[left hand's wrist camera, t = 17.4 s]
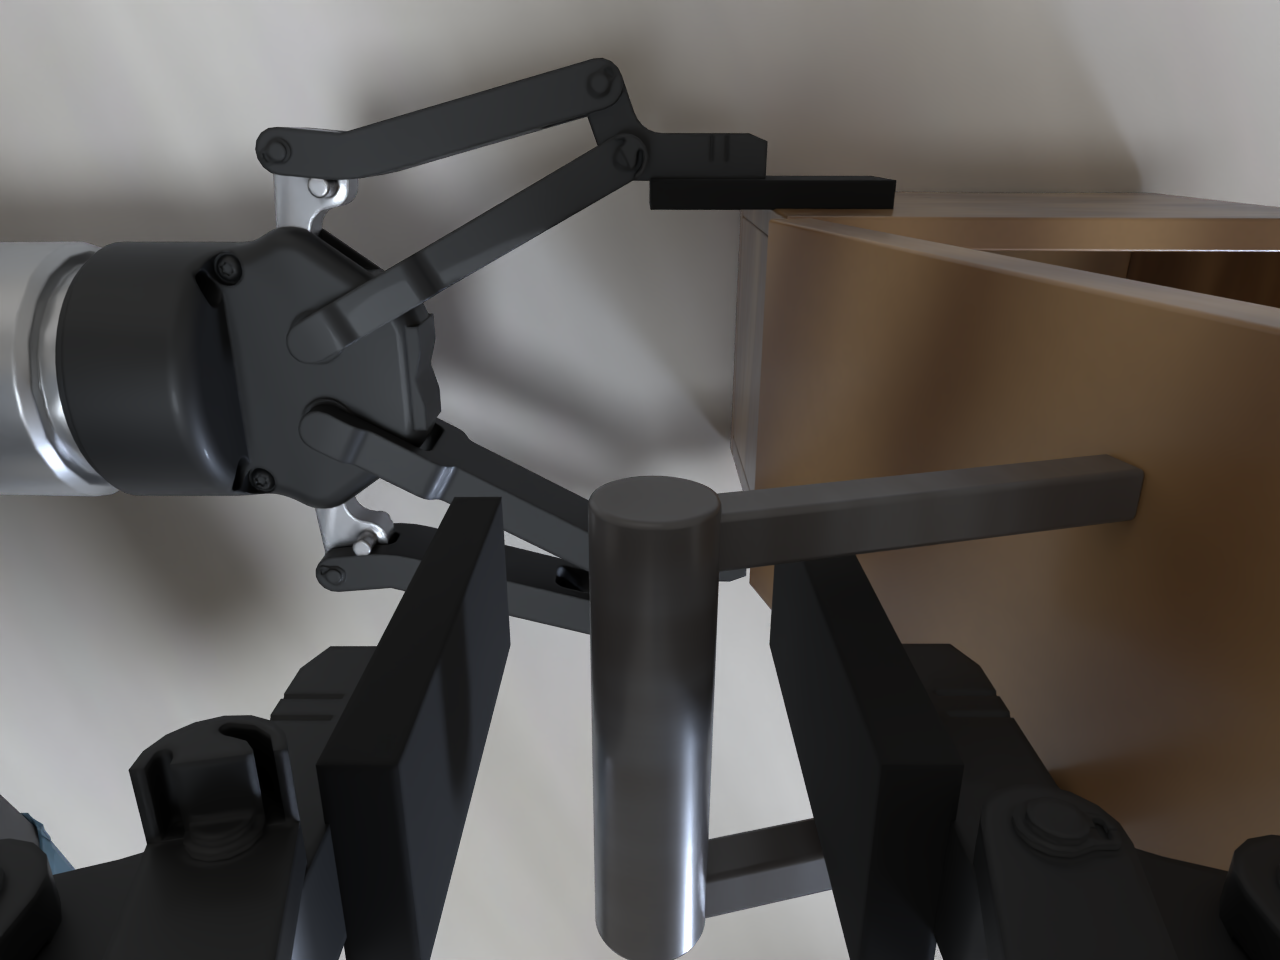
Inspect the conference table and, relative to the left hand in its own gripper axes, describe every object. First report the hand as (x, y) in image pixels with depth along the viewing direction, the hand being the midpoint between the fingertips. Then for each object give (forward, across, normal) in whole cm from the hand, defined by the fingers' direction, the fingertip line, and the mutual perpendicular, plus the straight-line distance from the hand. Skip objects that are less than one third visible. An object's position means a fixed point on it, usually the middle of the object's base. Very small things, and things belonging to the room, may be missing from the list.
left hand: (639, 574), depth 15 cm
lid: (+2, -6, 0) cm, 6 cm away
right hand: (+13, -7, 0) cm, 15 cm away
